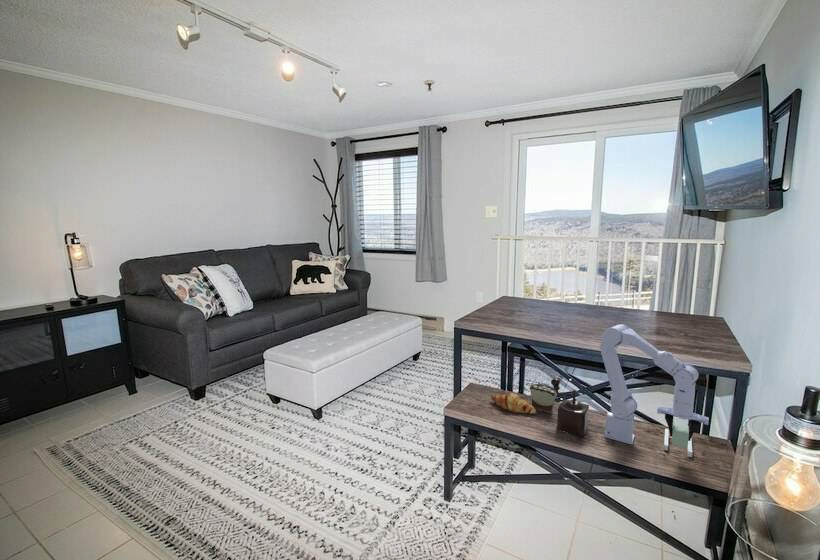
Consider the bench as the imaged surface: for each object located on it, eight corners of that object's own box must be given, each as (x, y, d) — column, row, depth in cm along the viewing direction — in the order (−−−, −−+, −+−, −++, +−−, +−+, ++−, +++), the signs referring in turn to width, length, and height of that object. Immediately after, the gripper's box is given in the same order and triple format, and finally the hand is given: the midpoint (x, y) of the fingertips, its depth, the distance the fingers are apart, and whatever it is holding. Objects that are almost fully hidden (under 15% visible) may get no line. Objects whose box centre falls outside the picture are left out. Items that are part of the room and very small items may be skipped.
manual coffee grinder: (588, 425, 160) (591, 384, 157) (583, 437, 151) (586, 393, 148) (550, 415, 168) (552, 376, 166) (543, 426, 159) (545, 384, 157)
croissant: (537, 419, 172) (541, 401, 174) (531, 417, 164) (535, 399, 166) (493, 405, 184) (497, 389, 186) (485, 403, 176) (489, 386, 178)
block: (671, 444, 134) (672, 430, 133) (671, 435, 139) (673, 422, 139) (687, 448, 131) (688, 434, 131) (687, 438, 137) (688, 425, 136)
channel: (663, 449, 142) (664, 444, 142) (664, 433, 154) (665, 428, 153) (691, 457, 138) (692, 452, 137) (690, 439, 149) (691, 434, 149)
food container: (560, 409, 174) (561, 388, 172) (555, 414, 169) (556, 392, 168) (534, 401, 182) (535, 381, 181) (528, 405, 177) (529, 385, 176)
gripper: (658, 399, 134) (654, 436, 136) (710, 410, 126) (706, 449, 128) (659, 392, 140) (655, 427, 142) (709, 402, 132) (705, 439, 134)
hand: (679, 437), depth 135 cm, fingers closed on block, 4 cm apart
